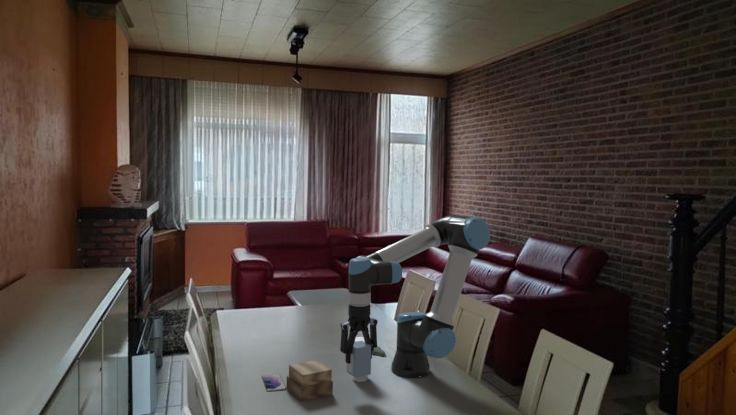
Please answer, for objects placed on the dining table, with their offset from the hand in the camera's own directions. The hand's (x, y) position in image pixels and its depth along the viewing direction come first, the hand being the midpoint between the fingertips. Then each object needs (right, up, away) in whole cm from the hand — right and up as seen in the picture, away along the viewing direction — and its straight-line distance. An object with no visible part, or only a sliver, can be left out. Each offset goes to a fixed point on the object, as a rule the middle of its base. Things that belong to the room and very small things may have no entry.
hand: (358, 370), depth 181 cm
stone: (+4, -8, +50) cm, 51 cm away
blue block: (0, -1, 0) cm, 1 cm away
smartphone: (-31, -9, +11) cm, 34 cm away
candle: (0, -9, +17) cm, 19 cm away
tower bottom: (-17, -9, +4) cm, 20 cm away
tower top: (-17, -4, +4) cm, 18 cm away
